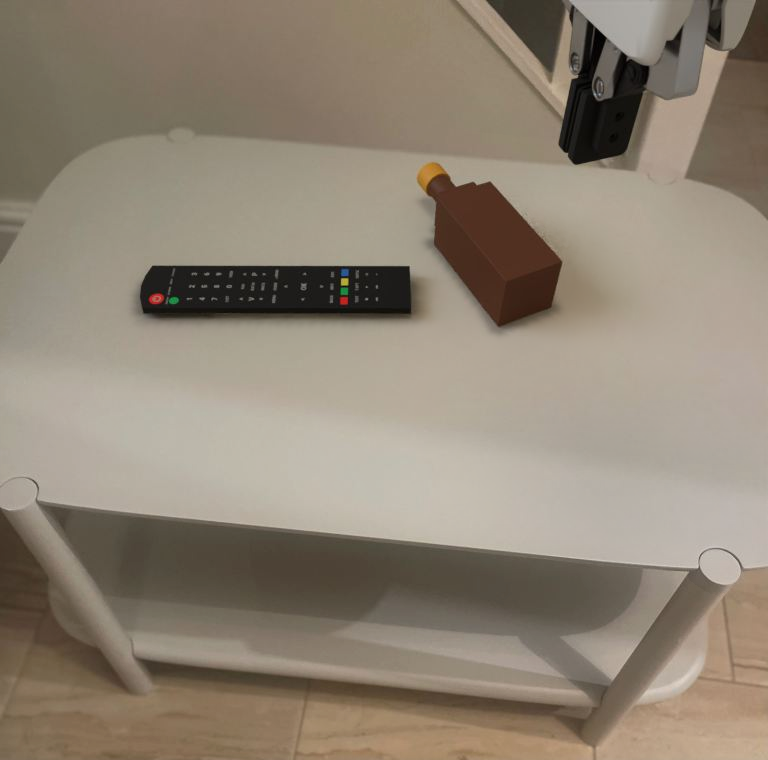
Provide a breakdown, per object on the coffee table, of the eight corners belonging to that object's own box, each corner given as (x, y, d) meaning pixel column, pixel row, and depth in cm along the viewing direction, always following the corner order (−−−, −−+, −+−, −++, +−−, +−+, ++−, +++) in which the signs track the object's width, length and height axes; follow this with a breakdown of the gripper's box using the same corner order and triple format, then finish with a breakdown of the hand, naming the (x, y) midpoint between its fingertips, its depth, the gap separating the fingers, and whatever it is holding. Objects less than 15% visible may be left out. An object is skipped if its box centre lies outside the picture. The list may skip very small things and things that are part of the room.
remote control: (410, 318, 70) (411, 308, 69) (139, 318, 70) (135, 307, 69) (409, 276, 73) (409, 266, 72) (149, 276, 73) (146, 265, 72)
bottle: (551, 307, 71) (451, 189, 81) (563, 261, 67) (455, 142, 77) (498, 327, 70) (403, 204, 80) (506, 281, 65) (404, 157, 76)
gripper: (953, -254, 24) (736, 225, 38) (678, -352, 32) (586, 67, 47) (739, -231, 22) (597, 260, 36) (511, -340, 31) (469, 89, 45)
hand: (591, 150), depth 41 cm, fingers closed
